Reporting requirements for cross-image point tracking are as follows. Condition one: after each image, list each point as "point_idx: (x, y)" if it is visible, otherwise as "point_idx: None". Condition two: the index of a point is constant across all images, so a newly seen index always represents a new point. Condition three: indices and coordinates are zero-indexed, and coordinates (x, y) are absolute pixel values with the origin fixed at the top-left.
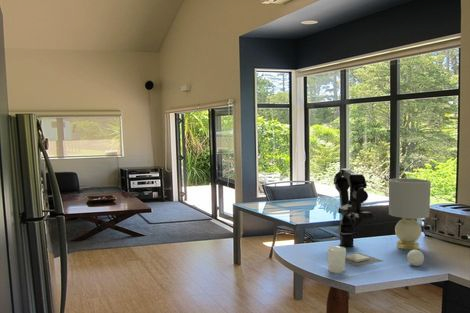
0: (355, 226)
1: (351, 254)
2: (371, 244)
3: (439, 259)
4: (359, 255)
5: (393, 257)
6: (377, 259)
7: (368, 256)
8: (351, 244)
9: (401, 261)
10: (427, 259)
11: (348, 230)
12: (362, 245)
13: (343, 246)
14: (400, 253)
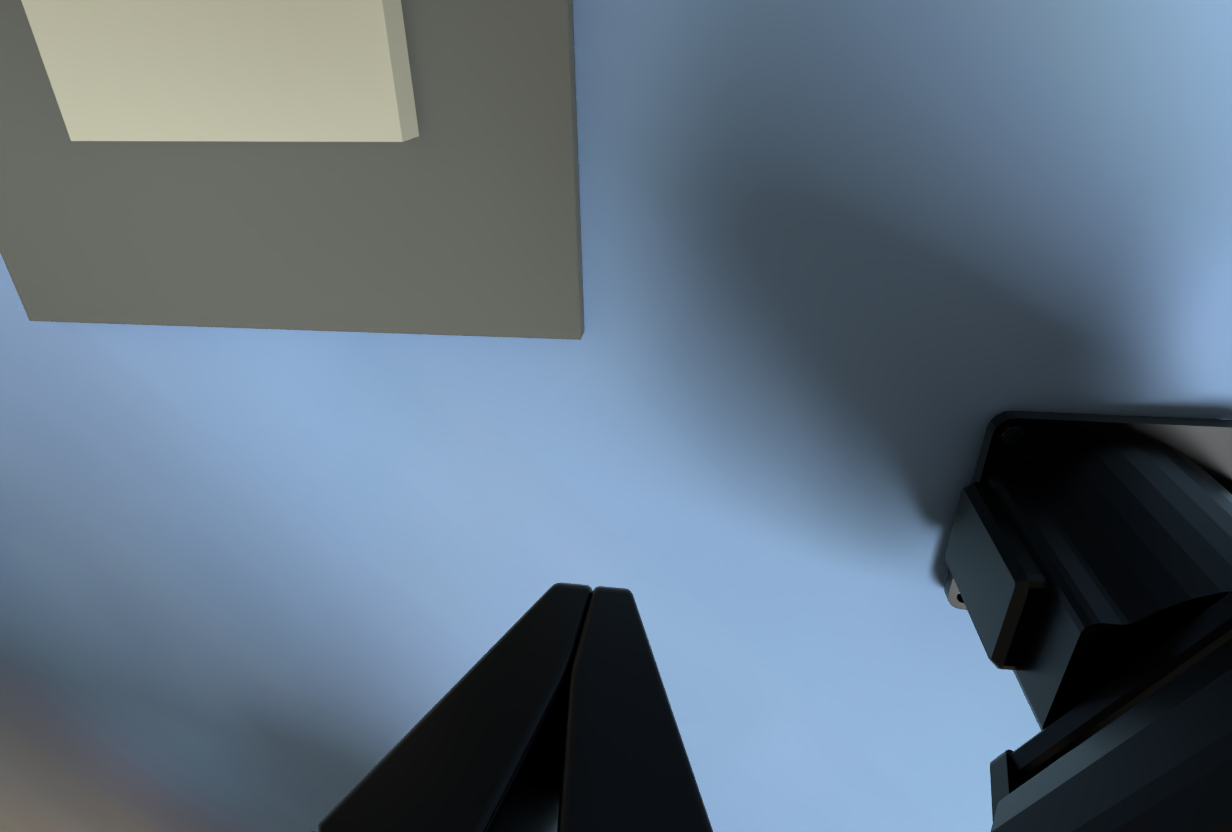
0: (447, 733)
1: (563, 115)
2: (881, 828)
3: (81, 826)
4: (252, 61)
5: (248, 587)
6: (120, 288)
7: (323, 301)
8: (967, 545)
9: (57, 525)
10: (97, 765)
11: (1153, 735)
12: (934, 729)
13: (1099, 437)
14: (379, 758)
